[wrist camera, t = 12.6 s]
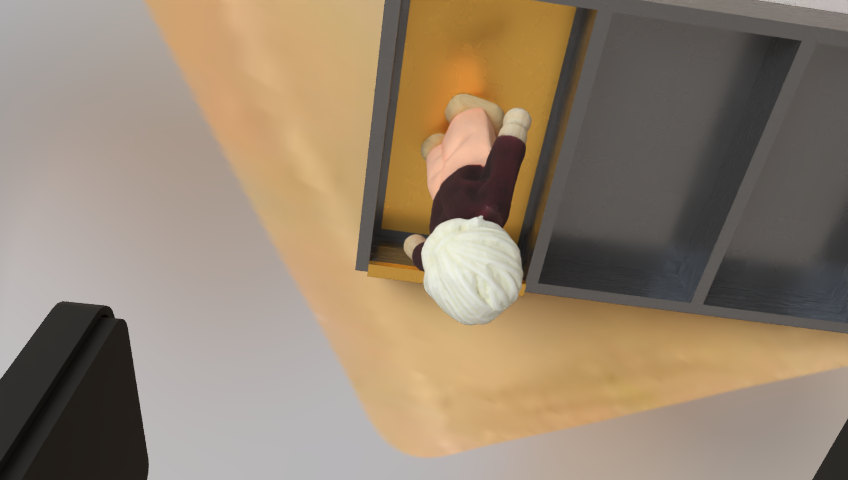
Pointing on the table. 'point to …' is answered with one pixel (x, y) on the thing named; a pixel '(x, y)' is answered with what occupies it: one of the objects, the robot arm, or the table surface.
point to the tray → (634, 148)
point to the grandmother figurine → (472, 210)
